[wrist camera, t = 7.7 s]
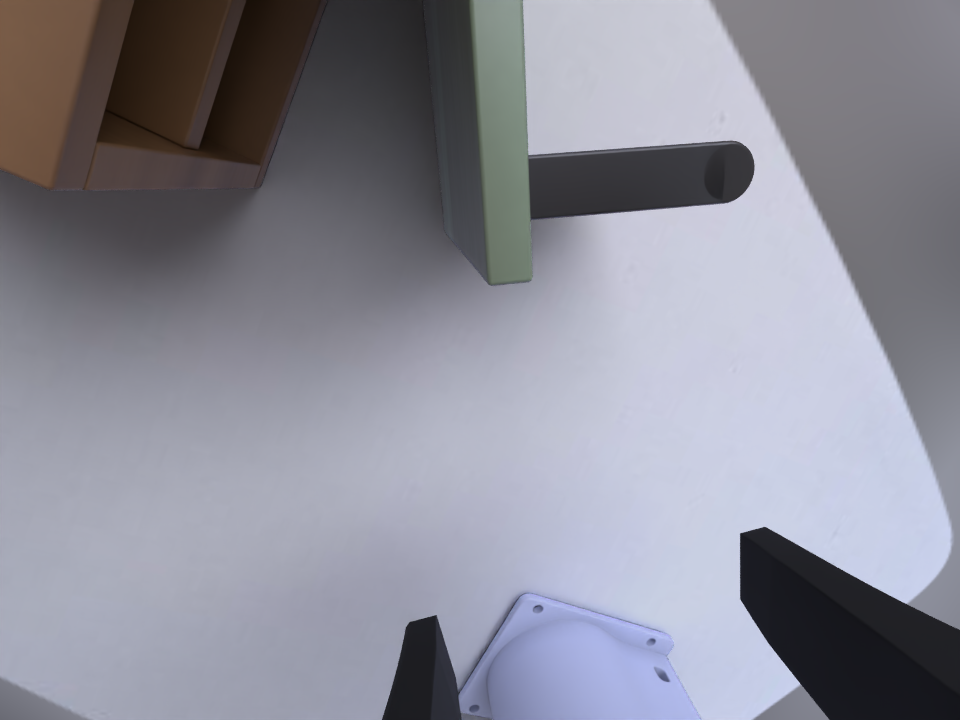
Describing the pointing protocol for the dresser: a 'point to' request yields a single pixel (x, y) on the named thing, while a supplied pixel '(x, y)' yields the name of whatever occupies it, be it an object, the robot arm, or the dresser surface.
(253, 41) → the cupboard
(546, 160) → the door
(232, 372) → the dresser surface
